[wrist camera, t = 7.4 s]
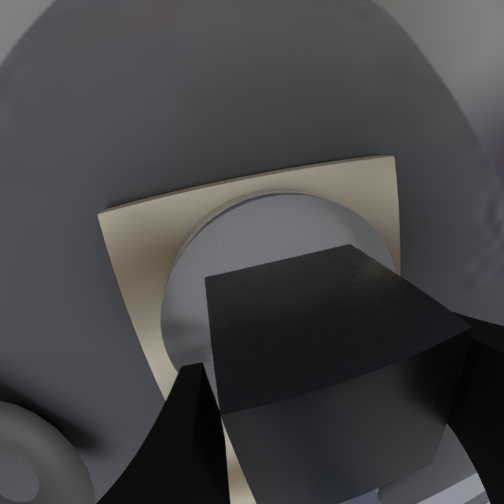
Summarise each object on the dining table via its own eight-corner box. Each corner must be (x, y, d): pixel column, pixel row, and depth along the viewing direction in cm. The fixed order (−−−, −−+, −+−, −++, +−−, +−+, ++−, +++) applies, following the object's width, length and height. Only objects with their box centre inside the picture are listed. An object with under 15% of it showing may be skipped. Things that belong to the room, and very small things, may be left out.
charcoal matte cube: (354, 358, 12) (431, 462, 7) (235, 391, 12) (265, 524, 6) (349, 243, 11) (472, 326, 5) (204, 277, 10) (220, 415, 5)
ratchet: (362, 470, 19) (385, 513, 15) (245, 504, 18) (256, 553, 14) (366, 172, 12) (438, 185, 8) (137, 217, 11) (106, 255, 7)
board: (373, 455, 20) (379, 466, 19) (225, 498, 19) (227, 510, 18) (379, 155, 13) (394, 156, 12) (105, 208, 12) (97, 214, 11)
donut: (-29, 392, 13) (-87, 497, 4) (-26, 360, 13) (-101, 474, 3) (97, 464, 16) (82, 588, 7) (112, 441, 16) (96, 583, 6)
